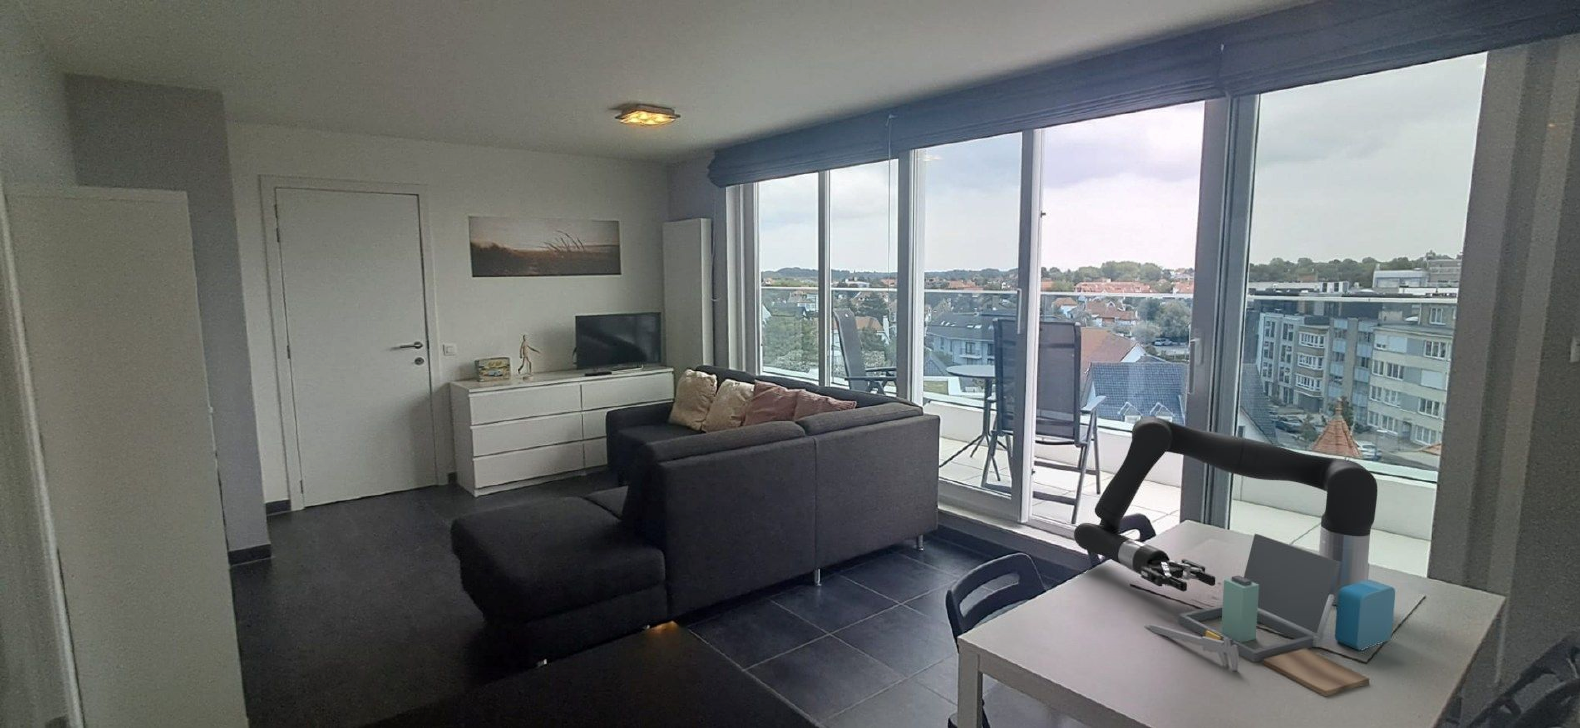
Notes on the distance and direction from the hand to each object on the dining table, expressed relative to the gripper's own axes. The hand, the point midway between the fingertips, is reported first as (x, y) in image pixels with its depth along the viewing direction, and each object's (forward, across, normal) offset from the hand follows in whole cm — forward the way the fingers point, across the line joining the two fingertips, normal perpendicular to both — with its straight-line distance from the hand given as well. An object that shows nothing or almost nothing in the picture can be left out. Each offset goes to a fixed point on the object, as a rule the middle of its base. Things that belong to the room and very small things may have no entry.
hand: (1200, 584), depth 162 cm
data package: (+21, +22, +8) cm, 31 cm away
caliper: (+10, -14, +8) cm, 19 cm away
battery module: (+10, 0, +8) cm, 12 cm away
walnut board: (+26, 0, +8) cm, 27 cm away
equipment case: (+10, +5, +8) cm, 14 cm away
